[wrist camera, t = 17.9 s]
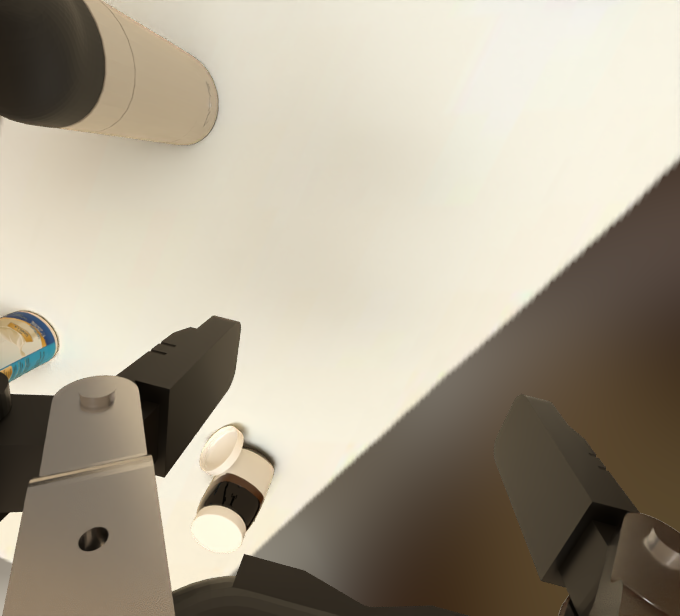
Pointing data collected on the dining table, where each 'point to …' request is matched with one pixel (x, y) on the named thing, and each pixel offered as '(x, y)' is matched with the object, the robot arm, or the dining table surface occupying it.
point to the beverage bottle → (25, 343)
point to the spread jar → (230, 491)
